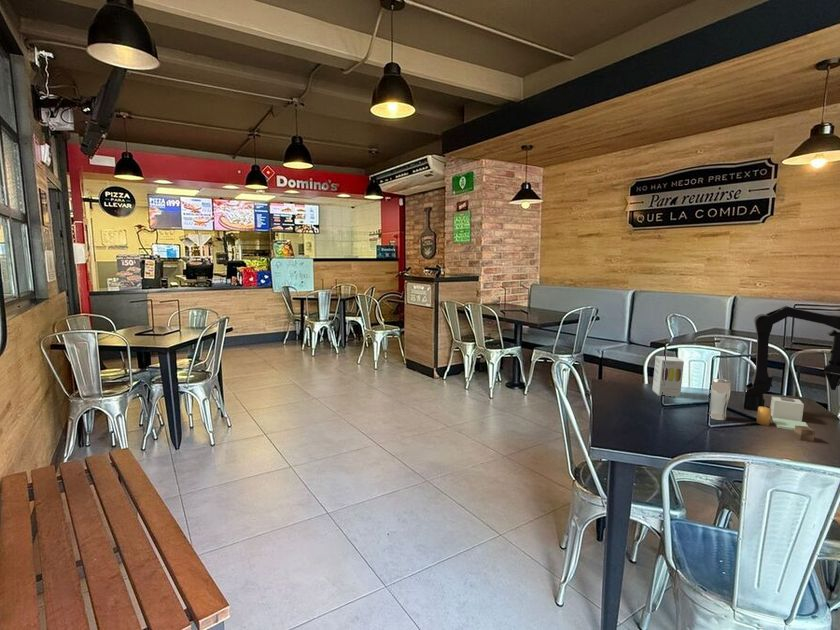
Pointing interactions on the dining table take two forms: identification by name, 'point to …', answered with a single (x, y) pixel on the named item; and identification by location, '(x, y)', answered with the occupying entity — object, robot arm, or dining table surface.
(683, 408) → the dining table surface
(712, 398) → the beer glass
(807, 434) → the walnut block
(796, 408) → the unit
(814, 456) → the dining table surface
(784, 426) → the pad
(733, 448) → the dining table surface
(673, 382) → the supplement box
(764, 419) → the orange knob
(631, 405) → the dining table surface
